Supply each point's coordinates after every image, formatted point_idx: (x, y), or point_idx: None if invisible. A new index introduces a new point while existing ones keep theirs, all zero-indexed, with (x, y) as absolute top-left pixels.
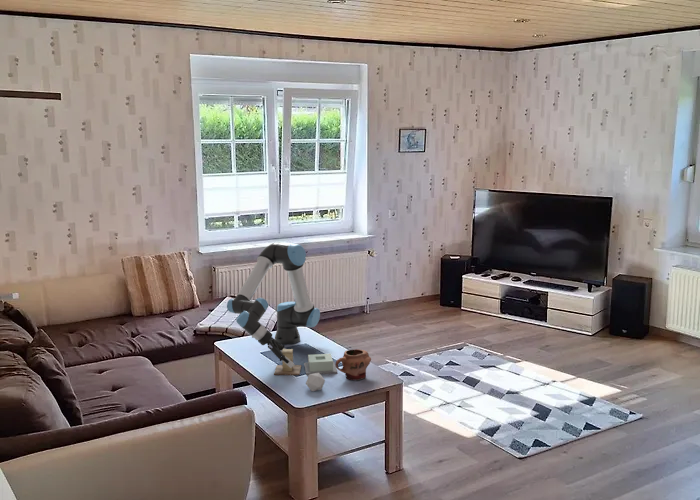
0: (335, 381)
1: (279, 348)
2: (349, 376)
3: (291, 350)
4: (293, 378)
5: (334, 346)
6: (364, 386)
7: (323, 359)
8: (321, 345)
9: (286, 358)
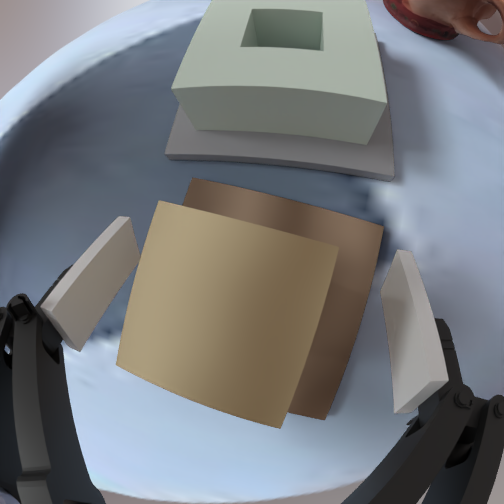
0: (470, 85)
1: (58, 379)
2: (452, 32)
3: (216, 233)
4: (430, 284)
5: (49, 59)
6: (488, 42)
7: (324, 19)
8: (19, 100)
9: (435, 357)
